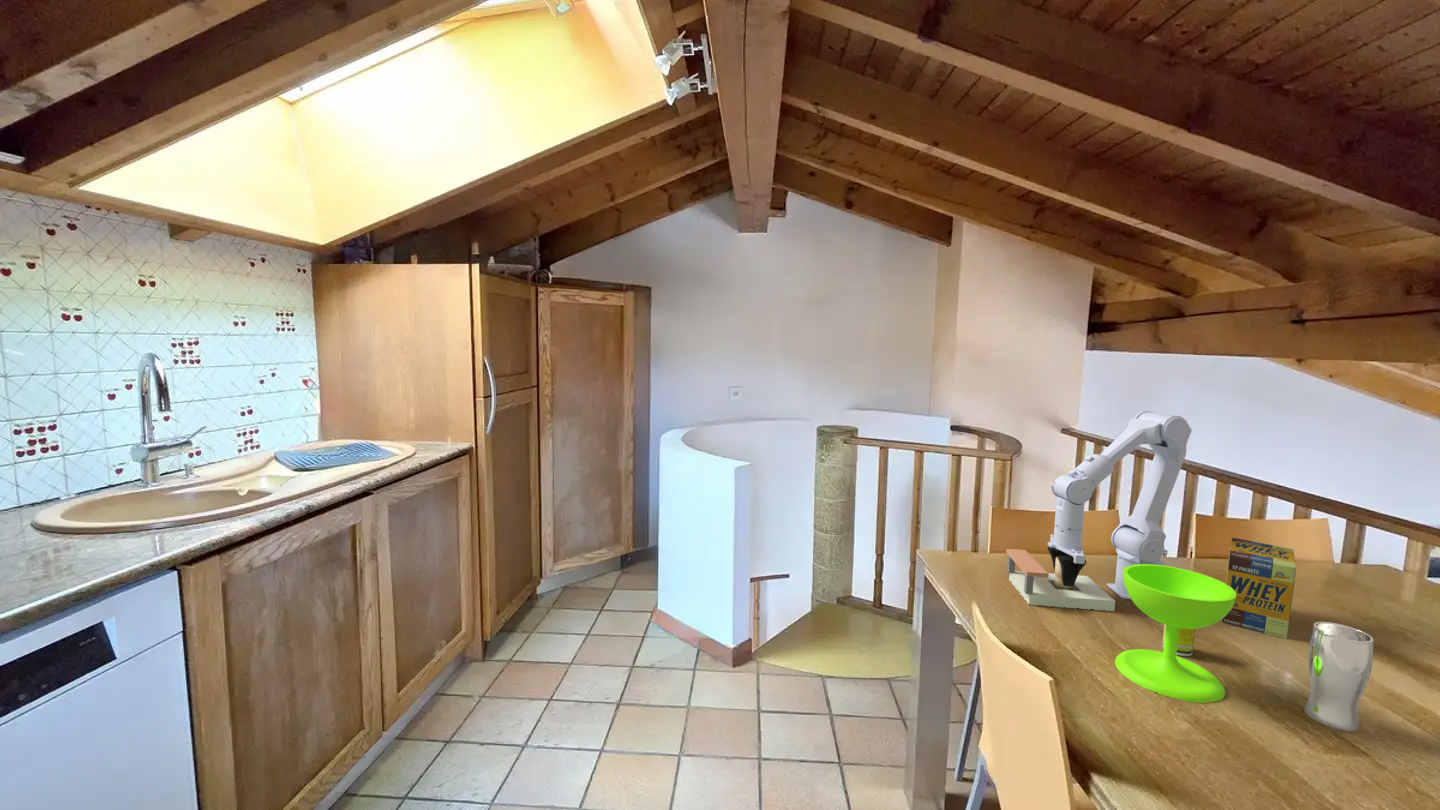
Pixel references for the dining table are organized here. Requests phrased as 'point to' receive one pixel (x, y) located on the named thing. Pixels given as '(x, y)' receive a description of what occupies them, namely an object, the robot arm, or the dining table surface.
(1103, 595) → the socket board
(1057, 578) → the peg
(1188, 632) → the supplement bottle
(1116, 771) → the dining table surface
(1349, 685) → the beer glass
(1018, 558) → the pink miniature bench
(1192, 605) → the wineglass
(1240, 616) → the protein box
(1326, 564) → the dining table surface
